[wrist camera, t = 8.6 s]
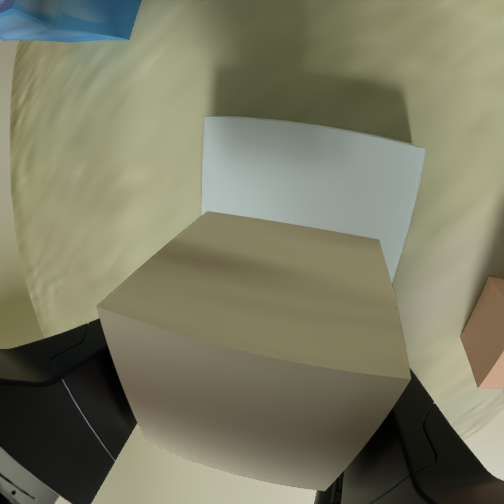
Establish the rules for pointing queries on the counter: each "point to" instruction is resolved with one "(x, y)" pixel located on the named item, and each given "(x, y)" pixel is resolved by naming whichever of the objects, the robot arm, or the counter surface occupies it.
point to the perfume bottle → (67, 19)
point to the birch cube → (260, 347)
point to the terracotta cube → (487, 336)
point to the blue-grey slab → (312, 177)
